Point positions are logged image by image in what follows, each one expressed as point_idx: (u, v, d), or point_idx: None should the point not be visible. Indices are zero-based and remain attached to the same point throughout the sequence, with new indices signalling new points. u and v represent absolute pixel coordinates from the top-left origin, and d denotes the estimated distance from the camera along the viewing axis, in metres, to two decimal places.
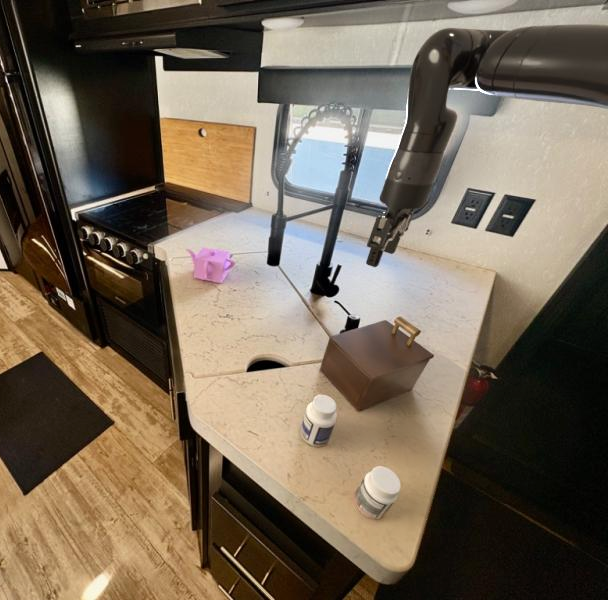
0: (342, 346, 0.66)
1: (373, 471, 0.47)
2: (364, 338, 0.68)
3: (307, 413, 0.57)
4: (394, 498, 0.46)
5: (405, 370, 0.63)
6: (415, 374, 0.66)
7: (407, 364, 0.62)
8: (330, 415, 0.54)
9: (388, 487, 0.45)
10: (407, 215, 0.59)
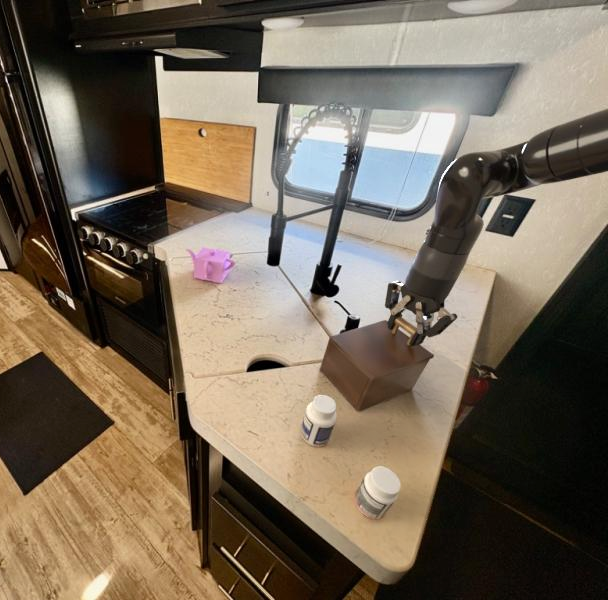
0: (342, 346, 0.66)
1: (373, 471, 0.47)
2: (364, 338, 0.68)
3: (307, 413, 0.57)
4: (394, 498, 0.46)
5: (405, 370, 0.63)
6: (415, 374, 0.66)
7: (407, 364, 0.62)
8: (330, 415, 0.54)
9: (388, 487, 0.45)
10: None
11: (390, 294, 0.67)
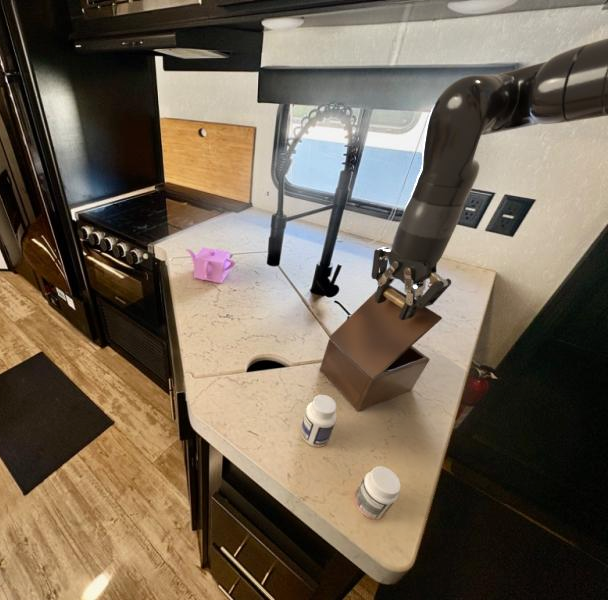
0: (341, 346, 0.66)
1: (373, 471, 0.47)
2: (362, 325, 0.65)
3: (307, 413, 0.57)
4: (394, 498, 0.46)
5: (405, 370, 0.63)
6: (415, 374, 0.66)
7: (408, 345, 0.57)
8: (330, 415, 0.54)
9: (388, 487, 0.45)
10: None
11: (377, 262, 0.59)
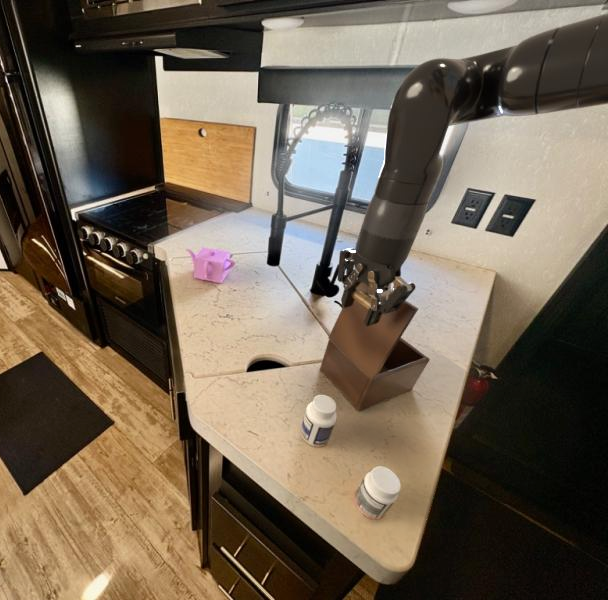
0: (339, 347, 0.66)
1: (373, 471, 0.47)
2: (351, 323, 0.63)
3: (307, 413, 0.57)
4: (394, 498, 0.46)
5: (405, 370, 0.63)
6: (415, 374, 0.66)
7: (393, 342, 0.55)
8: (330, 415, 0.54)
9: (388, 487, 0.45)
10: None
11: (342, 264, 0.56)
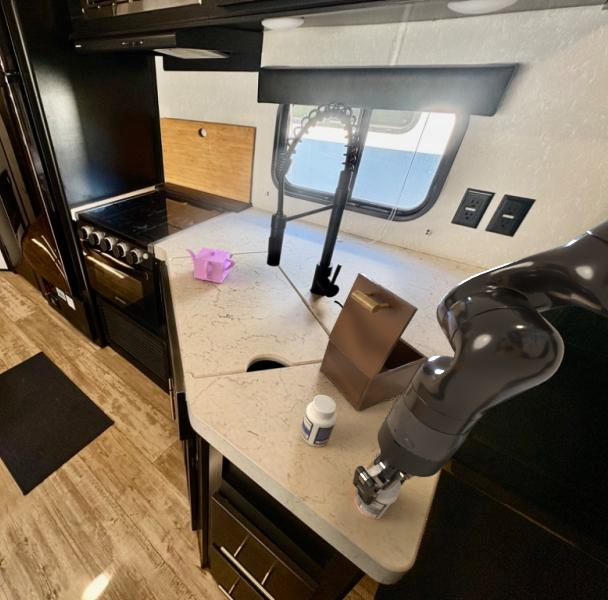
0: (339, 347, 0.66)
1: None
2: (351, 323, 0.63)
3: (307, 413, 0.57)
4: (394, 498, 0.46)
5: (405, 370, 0.63)
6: None
7: (393, 342, 0.55)
8: (330, 415, 0.54)
9: None
10: None
11: (372, 489, 0.42)
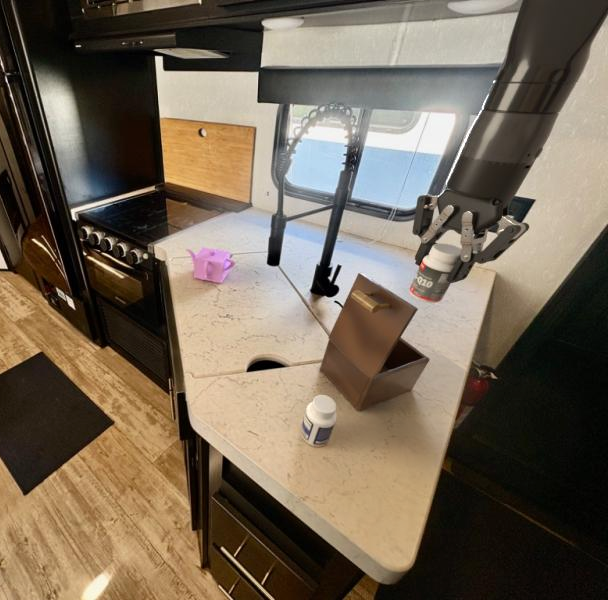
0: (339, 347, 0.66)
1: (446, 253, 0.45)
2: (351, 323, 0.63)
3: (307, 413, 0.57)
4: None
5: (405, 370, 0.63)
6: (415, 374, 0.66)
7: (393, 342, 0.55)
8: (330, 415, 0.54)
9: (456, 249, 0.46)
10: (469, 211, 0.41)
11: None
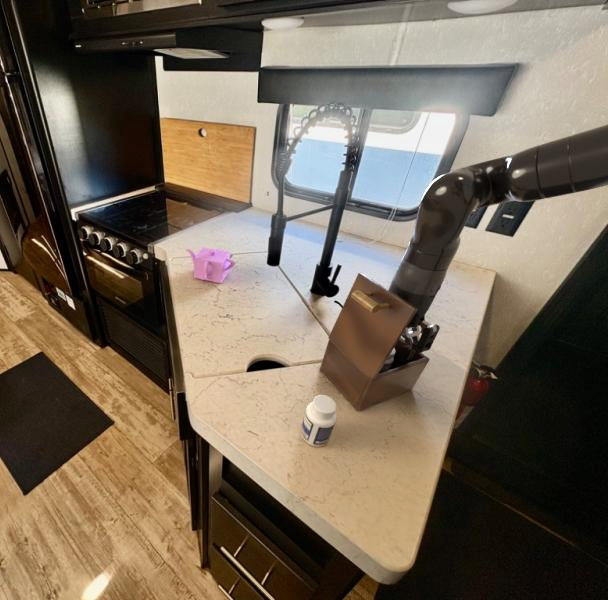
0: (339, 347, 0.66)
1: None
2: (351, 323, 0.63)
3: (307, 413, 0.57)
4: None
5: (405, 370, 0.63)
6: (415, 374, 0.66)
7: (393, 342, 0.55)
8: (330, 415, 0.54)
9: None
10: None
11: None
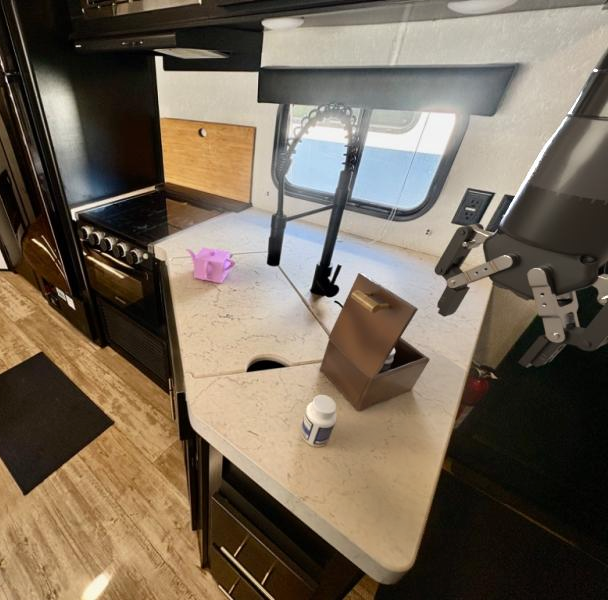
0: (339, 347, 0.66)
1: None
2: (351, 323, 0.63)
3: (307, 413, 0.57)
4: None
5: (405, 370, 0.63)
6: (415, 374, 0.66)
7: (393, 342, 0.55)
8: (330, 415, 0.54)
9: None
10: (536, 267, 0.27)
11: None
